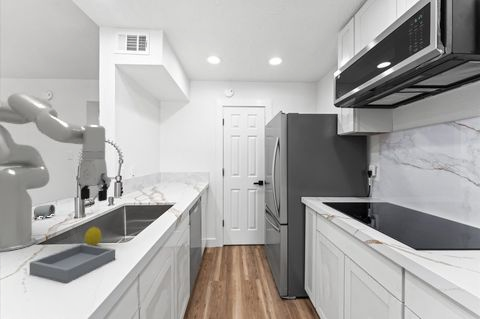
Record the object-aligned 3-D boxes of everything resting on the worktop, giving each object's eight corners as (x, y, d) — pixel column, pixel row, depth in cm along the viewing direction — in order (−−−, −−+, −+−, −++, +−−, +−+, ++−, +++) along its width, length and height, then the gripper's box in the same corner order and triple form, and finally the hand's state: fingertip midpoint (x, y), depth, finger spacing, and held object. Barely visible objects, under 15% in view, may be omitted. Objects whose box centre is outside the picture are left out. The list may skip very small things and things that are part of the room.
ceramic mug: (39, 216, 139) (39, 204, 139) (55, 215, 141) (55, 203, 141) (29, 221, 129) (29, 207, 129) (46, 220, 131) (46, 206, 131)
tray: (29, 274, 68) (29, 262, 68) (81, 253, 83) (81, 243, 83) (66, 283, 62) (66, 270, 62) (115, 259, 78) (115, 249, 78)
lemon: (104, 244, 92) (104, 224, 92) (96, 249, 86) (96, 228, 86) (90, 244, 92) (90, 224, 92) (81, 249, 86) (81, 228, 86)
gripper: (69, 156, 88) (69, 200, 88) (100, 156, 82) (100, 203, 82) (88, 156, 95) (88, 197, 95) (118, 156, 89) (118, 199, 89)
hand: (93, 199), depth 88 cm, fingers open, 9 cm apart
